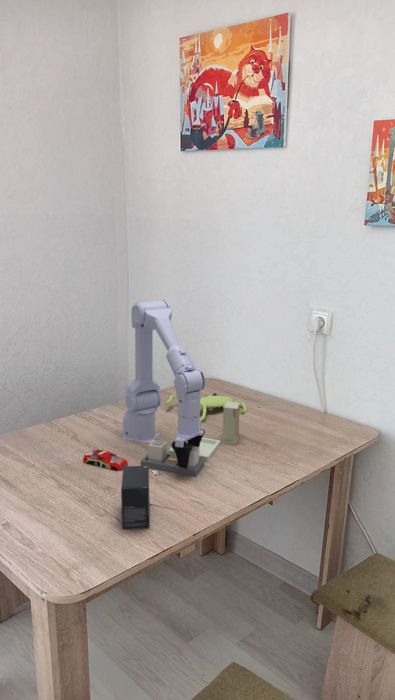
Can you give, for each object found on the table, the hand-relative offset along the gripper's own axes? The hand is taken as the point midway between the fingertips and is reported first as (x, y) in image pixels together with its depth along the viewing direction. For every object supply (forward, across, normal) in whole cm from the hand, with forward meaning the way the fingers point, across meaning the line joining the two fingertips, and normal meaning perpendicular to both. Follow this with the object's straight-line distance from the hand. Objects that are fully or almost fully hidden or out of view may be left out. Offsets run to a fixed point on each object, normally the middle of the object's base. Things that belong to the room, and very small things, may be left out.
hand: (188, 461), depth 152 cm
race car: (+3, -5, +22) cm, 23 cm away
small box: (+3, -26, +4) cm, 26 cm away
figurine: (+4, +44, +10) cm, 46 cm away
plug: (+2, 0, 0) cm, 2 cm away
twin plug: (+2, 0, +9) cm, 9 cm away
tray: (+3, +12, +2) cm, 13 cm away
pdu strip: (+3, 0, +4) cm, 5 cm away
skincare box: (+3, +22, -6) cm, 23 cm away
